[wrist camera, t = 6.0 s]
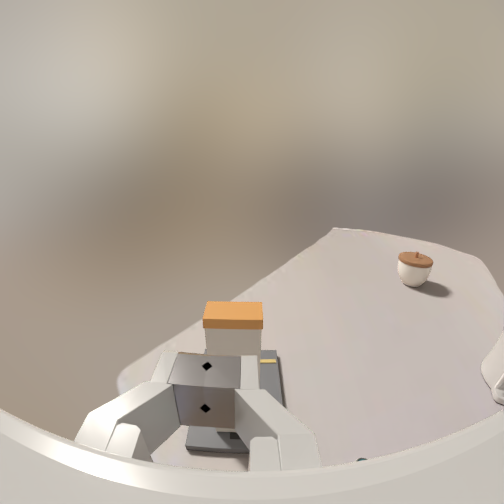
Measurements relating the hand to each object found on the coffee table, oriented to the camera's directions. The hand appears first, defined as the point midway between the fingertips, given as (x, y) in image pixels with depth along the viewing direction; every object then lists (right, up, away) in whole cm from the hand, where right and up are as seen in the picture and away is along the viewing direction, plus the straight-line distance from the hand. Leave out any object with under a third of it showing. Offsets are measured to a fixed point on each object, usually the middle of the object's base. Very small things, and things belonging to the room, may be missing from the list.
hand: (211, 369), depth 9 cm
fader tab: (-1, -18, +22) cm, 29 cm away
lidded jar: (+48, -5, +65) cm, 81 cm away
